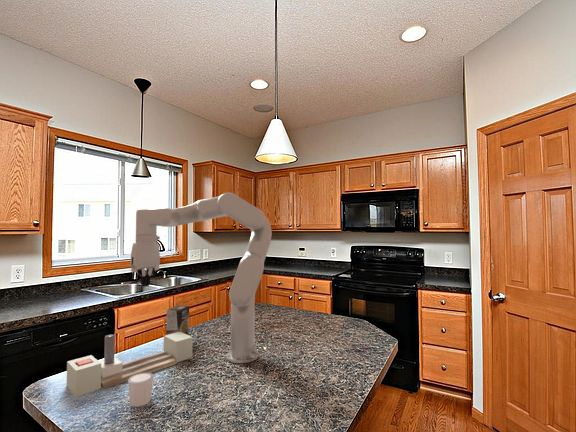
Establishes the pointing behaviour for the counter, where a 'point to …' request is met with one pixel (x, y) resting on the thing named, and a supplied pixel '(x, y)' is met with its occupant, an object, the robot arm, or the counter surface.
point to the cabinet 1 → (83, 376)
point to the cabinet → (178, 346)
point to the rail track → (139, 368)
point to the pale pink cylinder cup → (140, 389)
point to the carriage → (110, 358)
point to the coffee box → (177, 320)
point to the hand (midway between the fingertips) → (145, 285)
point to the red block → (83, 362)
